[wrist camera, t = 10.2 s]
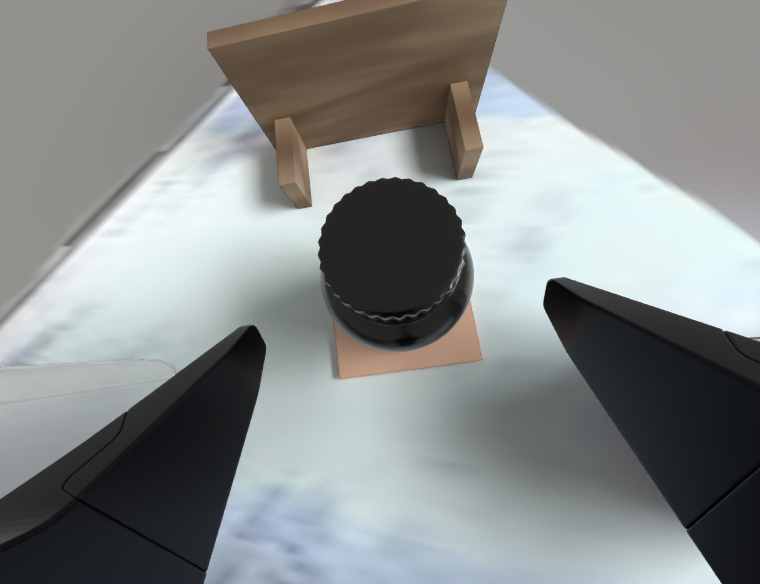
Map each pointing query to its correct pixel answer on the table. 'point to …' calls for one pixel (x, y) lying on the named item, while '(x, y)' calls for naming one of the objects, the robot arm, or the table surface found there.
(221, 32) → the walnut shelf nook
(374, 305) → the supplement bottle
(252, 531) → the table surface
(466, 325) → the terracotta tile
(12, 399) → the photo printer
